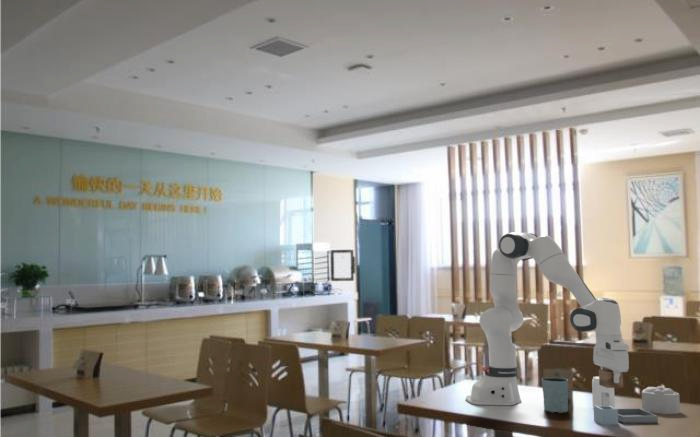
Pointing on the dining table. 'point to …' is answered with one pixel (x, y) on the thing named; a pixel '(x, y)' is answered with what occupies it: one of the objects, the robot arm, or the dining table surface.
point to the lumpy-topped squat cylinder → (660, 400)
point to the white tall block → (600, 389)
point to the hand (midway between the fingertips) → (610, 381)
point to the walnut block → (609, 379)
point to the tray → (636, 416)
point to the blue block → (606, 415)
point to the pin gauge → (605, 400)
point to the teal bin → (555, 394)
